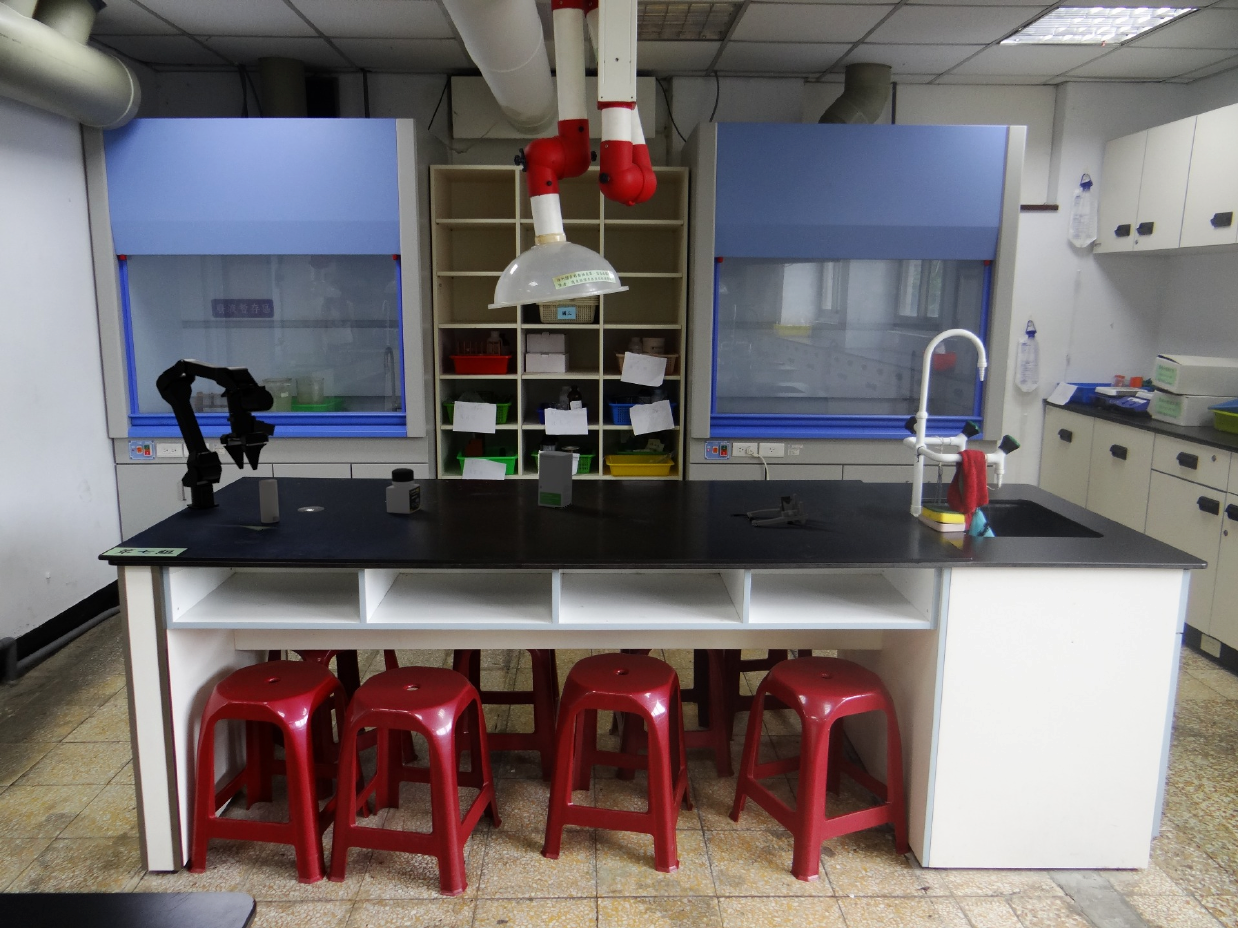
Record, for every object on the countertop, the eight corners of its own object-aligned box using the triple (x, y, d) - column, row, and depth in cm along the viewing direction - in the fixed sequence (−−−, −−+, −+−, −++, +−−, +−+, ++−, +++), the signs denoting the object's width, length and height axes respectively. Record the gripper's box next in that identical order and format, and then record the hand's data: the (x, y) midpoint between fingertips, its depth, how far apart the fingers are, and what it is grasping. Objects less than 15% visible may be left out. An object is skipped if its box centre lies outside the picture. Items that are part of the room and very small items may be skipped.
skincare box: (537, 506, 254) (537, 453, 252) (547, 501, 260) (547, 450, 258) (563, 508, 251) (563, 455, 248) (573, 504, 257) (573, 451, 254)
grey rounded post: (255, 521, 231) (253, 480, 229) (271, 518, 235) (268, 478, 233) (269, 525, 227) (267, 483, 226) (284, 522, 231) (282, 481, 229)
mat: (230, 523, 230) (230, 522, 230) (271, 515, 240) (271, 514, 240) (258, 530, 223) (258, 529, 223) (298, 521, 233) (298, 520, 233)
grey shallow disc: (292, 513, 242) (292, 511, 242) (305, 508, 249) (305, 506, 249) (316, 514, 241) (316, 512, 241) (328, 509, 248) (328, 507, 248)
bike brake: (801, 513, 244) (730, 523, 245) (798, 490, 243) (727, 500, 244) (810, 526, 230) (734, 536, 232) (807, 501, 229) (731, 511, 230)
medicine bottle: (410, 514, 243) (408, 471, 241) (386, 512, 244) (384, 470, 242) (421, 508, 250) (419, 467, 248) (397, 507, 251) (396, 466, 249)
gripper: (283, 409, 237) (291, 466, 239) (255, 410, 250) (263, 464, 252) (242, 413, 229) (250, 472, 231) (215, 414, 242) (223, 470, 244)
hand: (248, 469), depth 240 cm, fingers open, 9 cm apart
